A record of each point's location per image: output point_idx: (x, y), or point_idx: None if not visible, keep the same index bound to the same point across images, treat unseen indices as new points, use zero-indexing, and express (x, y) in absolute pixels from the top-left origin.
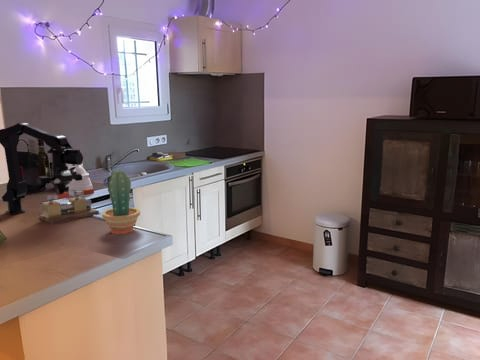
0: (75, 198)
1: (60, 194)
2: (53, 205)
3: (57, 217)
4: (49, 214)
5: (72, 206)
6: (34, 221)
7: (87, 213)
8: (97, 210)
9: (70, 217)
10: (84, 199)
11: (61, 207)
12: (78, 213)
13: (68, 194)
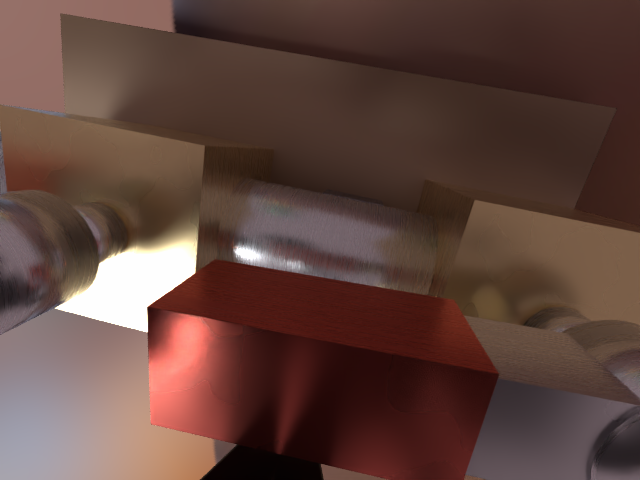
0: (119, 239)
1: (420, 353)
2: (598, 224)
3: (482, 168)
4: (583, 212)
5: (257, 181)
6: None
7: (189, 37)
8: (63, 44)
9: (386, 71)
10: (30, 111)
11: (407, 218)
12: (253, 114)
13: (191, 287)
